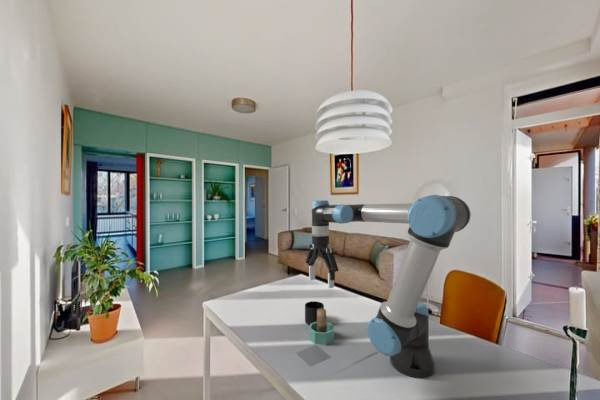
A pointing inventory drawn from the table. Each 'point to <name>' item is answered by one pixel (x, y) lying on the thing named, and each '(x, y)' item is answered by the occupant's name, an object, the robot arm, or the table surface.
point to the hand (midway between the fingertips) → (321, 283)
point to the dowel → (321, 320)
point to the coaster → (313, 355)
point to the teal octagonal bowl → (321, 334)
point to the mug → (312, 311)
